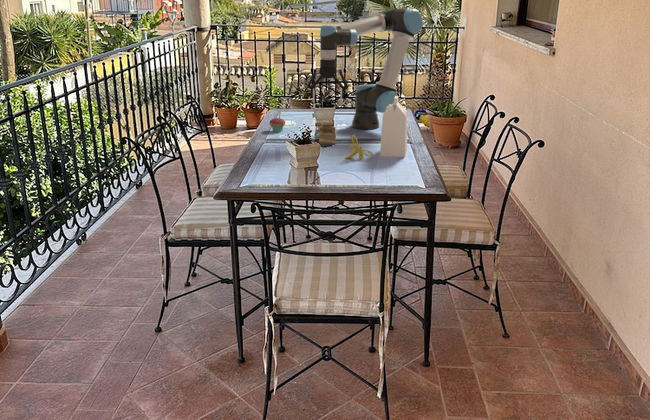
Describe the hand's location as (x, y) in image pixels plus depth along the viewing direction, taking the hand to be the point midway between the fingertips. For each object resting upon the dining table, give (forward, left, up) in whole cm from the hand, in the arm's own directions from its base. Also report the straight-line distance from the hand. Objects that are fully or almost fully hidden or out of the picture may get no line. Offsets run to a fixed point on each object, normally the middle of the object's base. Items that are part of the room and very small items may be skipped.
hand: (327, 102), depth 286 cm
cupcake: (+27, -17, -19) cm, 37 cm away
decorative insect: (-15, +36, -19) cm, 43 cm away
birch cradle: (0, +2, -19) cm, 19 cm away
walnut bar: (0, +1, -14) cm, 14 cm away
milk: (-31, +26, -19) cm, 45 cm away
